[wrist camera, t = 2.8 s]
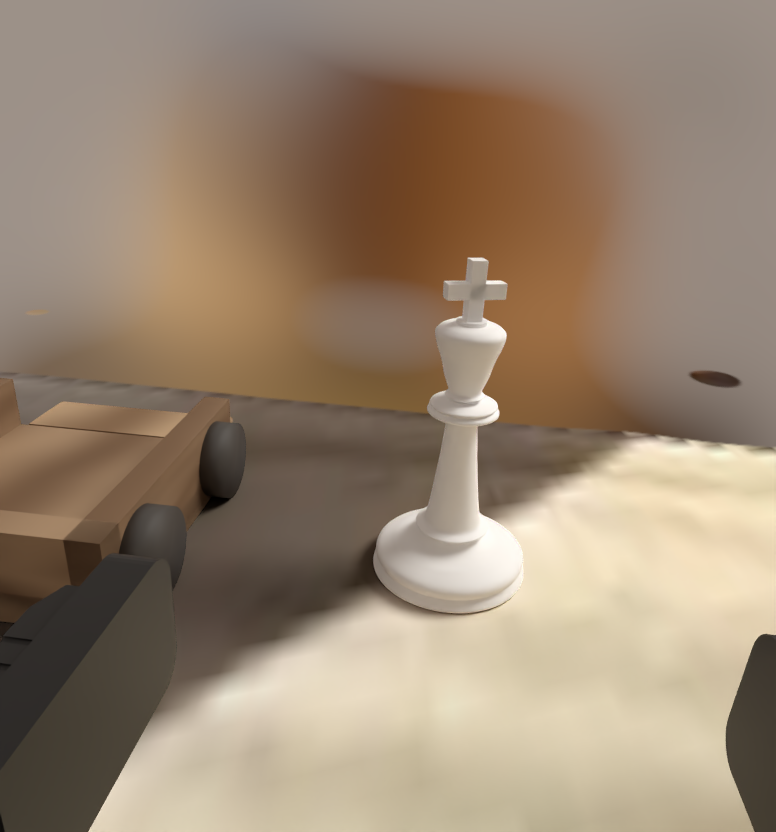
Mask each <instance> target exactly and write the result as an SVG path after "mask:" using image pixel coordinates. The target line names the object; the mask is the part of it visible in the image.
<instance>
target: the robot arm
mask: <svg viewBox="0 0 776 832" xmlns="http://www.w3.org/2000/svg"><path fill="white" fill-rule="evenodd" d="M176 651H177V642H176V630H175V618H174V607H173V595H172V583H171V573H170V568H169V565H168V563H167V561H166V560H164V559H159V558H151V557H142V556H134V555H126V554H118V553H111V554H109V555H107V556H106V557H105V558H104V559H103V560H102V561H101V562H100V563H99V564H98V566H97V567H96V568H95V569H94V570H93V571H92V573H91V574H90V575H89V576H88V577H87V578H86V579H85V581H84V582H83V583H82V584H81V585H80V586H72V585H65V586H63V587H62V588H60V589H58V590H57V591H55V592H54V593H52V594H50V595H49V596H47V597H45V598H44V599H42V600H40V601H39V602H37V603H35V604H34V605H32V606H30V607H29V608H28V609H27V610H26V611H25V612H24V613H23V615H22V616H21V617H20V618H19V619H18V620H17V621H16V622H15V623H14V624H13V625H12V626H11V627H10V628H9V630H8V631H7V632H6V633H5V634H4V635H3V638H2V641H1V642H0V832H88V831H89V829H90V827H91V825H92V824H93V822H94V820H95V818H96V816H97V815H98V813H99V811H100V809H101V807H102V806H103V804H104V802H105V800H106V798H107V796H108V795H109V793H110V791H111V789H112V787H113V786H114V784H115V782H116V780H117V778H118V777H119V775H120V773H121V771H122V769H123V768H124V766H125V764H126V762H127V760H128V758H129V757H130V755H131V753H132V751H133V749H134V748H135V746H136V744H137V742H138V740H139V739H140V737H141V735H142V733H143V731H144V730H145V728H146V726H147V724H148V722H149V721H150V719H151V717H152V715H153V713H154V711H155V710H156V708H157V706H158V704H159V702H160V701H161V699H162V697H163V695H164V693H165V691H166V689H167V687H168V685H169V683H170V680H171V677H172V673H173V670H174V665H175V660H176ZM726 751H727V758H728V763H729V767H730V770H731V773H732V776H733V778H734V781H735V783H736V786H737V788H738V791H739V793H740V796H741V798H742V801H743V803H744V806H745V808H746V811H747V813H748V816H749V818H750V821H751V823H752V826H753V829H754V831H755V832H776V635H770V634H763V635H761V636H759V637H758V638H757V640H756V641H755V643H754V645H753V648H752V650H751V653H750V656H749V659H748V662H747V665H746V668H745V671H744V674H743V677H742V680H741V682H740V685H739V688H738V691H737V694H736V697H735V700H734V703H733V706H732V709H731V712H730V715H729V718H728V721H727V727H726Z"/></svg>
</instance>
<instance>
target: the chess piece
mask: <svg viewBox="0 0 776 832" xmlns="http://www.w3.org/2000/svg"><path fill="white" fill-rule="evenodd" d="M488 262H489V261H487V260H486V259H484V258H468V262H467V273H466V281H444V289H443V297H444V298H445V299H447V300H464V305H463V315H462V316H460V317H458V318H454V319H449V320H446V321H444V322H442V323H440V324H439V325H438V326H437V327H436V330H435V336H436V341H437V346H438V349H439V351H440V354H441V359H442V363H443V370H444V374H445V377H446V381H447V384H448V388H449V389H447V390H446V391H443V392H439V393H437V394H435V395H433V396H432V397H431V399H430V403H429V404H428V406H427V410H428V412H429V414H430V415H431V416H433V417H434V418H436V419H437V420H439V421H442V422H445V423H446V425H445V431H444V435H443V441H442V446H441V452H440V456H439V461H438V465H437V470H436V474H435V479H434V483H433V487H432V492H431V496H430V500H429V503H428V506H427V507H425V508H423V509H419V510H414V511H411V512H408V513H405V514H402V515H400V516H398V517H396V518H395V519H393V520H392V521H390V522H389V523H388V524H387V525H386V526H385V527H384V528H383V529H382V530H381V532H380V534H379V536H378V539H377V543H376V549H375V552H374V556H373V565H374V569H375V572H376V574H377V576H378V578H379V579H380V581H381V582H382V583H383V585H384V586H385V587H386V588H387V589H388V590H390V591H391V592H392V593H393V594H395V595H396V596H398V597H399V598H401V599H403V600H405V601H407V602H409V603H411V604H413V605H416V606H419V607H422V608H425V609H429V610H433V611H438V612H445V613H472V612H479V611H484V610H487V609H491V608H494V607H496V606H498V605H500V604H502V603H504V602H506V601H507V600H509V599H510V598H511V597H512V596H513V595H514V594H515V593H516V592H517V591H518V590H519V588H520V586H521V584H522V581H523V553H522V549H521V547H520V545H519V543H518V541H517V540H516V538H515V537H514V536H513V535H512V534H511V533H510V532H509V531H508V530H507V529H506V528H504V527H503V526H502V525H500V524H499V523H497V522H495V521H494V520H492V519H490V518H488V517H485V516H483V515H482V514H481V513H480V512H479V505H478V475H477V426H482V425H486V424H489V423H492V422H494V421H495V420H496V419H497V418H498V417H499V410H498V405H497V403H496V402H495V400H493V399H492V398H490V397H488V396H486V395H484V394H483V392H482V390H483V388H484V386H485V384H486V382H487V380H488V379H489V376H490V374H491V371H492V368H493V366H494V364H495V362H496V360H497V357H498V356H499V354H500V352H501V351H502V348H503V346H504V344H505V341H506V337H507V336H506V332H505V331H504V329H503V328H501V327H500V326H499V325H497V324H495V323H493V322H490V321H487V320H486V319H484V318H483V309H484V300H505V299H506V293H507V284H506V283H505V282H503V281H486V280H487V271H488Z"/></svg>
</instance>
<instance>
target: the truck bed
mask: <svg viewBox="0 0 776 832" xmlns="http://www.w3.org/2000/svg"><path fill="white" fill-rule="evenodd" d="M245 458H246V439H245V433H244V430H243V427H242V426H241V424H239V423H232V417H230V405H229V399H223V398H212V397H204V398H203V399H202V400H201V401H200V402H199V403H198V404H197V405H196V406H195V407H194V408H193V409H192V410H191V411H190V412H189V413H179V412H168V411H157V410H147V409H136V408H125V407H115V406H104V405H94V404H83V403H72V402H61V403H59V404H58V405H56V406H55V407H53V408H52V409H50V410H49V411H47V412H46V413H44V414H43V415H41V416H40V417H38V418H37V419H35V420H34V421H32V422H31V423H30V424H29V425H24V424H21V421H20V416H19V410H18V405H17V400H16V394H15V389H14V384H13V379H5V378H0V621H3V622H11V623H15V622H16V621H17V620H18V619H19V618H20V617H21V616H22V615H23V613H24V612H25V611H26V610H27V609H28V608H29V607H30V606H32V605H34V604H35V603H37V602H39V601H40V600H42V599H44V598H45V597H47V596H49V595H50V594H52V593H54V592H55V591H57V590H58V589H60V588H62V587H63V586H65V585H72V586H80V585H81V584H82V583H83V582H84V581H85V579H86V578H87V577H88V576H89V575H90V574H91V573H92V571H93V570H94V569H95V568H96V567H97V566H98V564H99V563H100V562H101V561H102V560H103V559H104V558H105V557H106V556H107V555H109V554H111V553H118V554H126V555H134V556H142V557H151V558H159V559H164V560H166V561H167V563H168V565H169V568H170V573H171V583H172V591H173V589H174V587H175V585H176V583H177V580H178V578H179V575H180V572H181V569H182V565H183V561H184V555H185V548H186V532H187V531H188V529H189V528H190V526H191V525H192V524H193V522H194V521H195V519H196V518H197V516H198V515H199V514H200V512H201V511H202V509H203V508H204V507H205V505H206V504H207V502H208V501H209V500H210V498H211V497H212V496H214V497H223V498H232V497H233V496H234V495H235V494H236V492H237V490H238V488H239V486H240V483H241V480H242V476H243V472H244V466H245Z"/></svg>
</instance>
